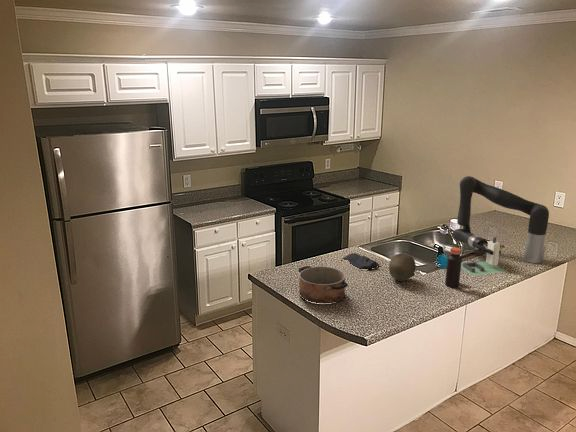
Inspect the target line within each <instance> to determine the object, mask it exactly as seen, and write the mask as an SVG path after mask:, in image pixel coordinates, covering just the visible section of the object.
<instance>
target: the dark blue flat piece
mask: <svg viewBox="0 0 576 432" xmlns="http://www.w3.org/2000/svg"><path fill="white" fill-rule="evenodd" d="M342 258H343V259H344V260H348V261H349V262H350V264H352V265H353V266H355V267H357V268H359V269H372V268H376V267H377V266H379V265H381V264H380V263H378V262H377V261H376V260H373V259H370V257H367V256H366V255H361V254H360V253H356V252H355V253H350V254H347V255H345V256H344V257H342ZM376 269H377V268H376Z"/></svg>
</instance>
